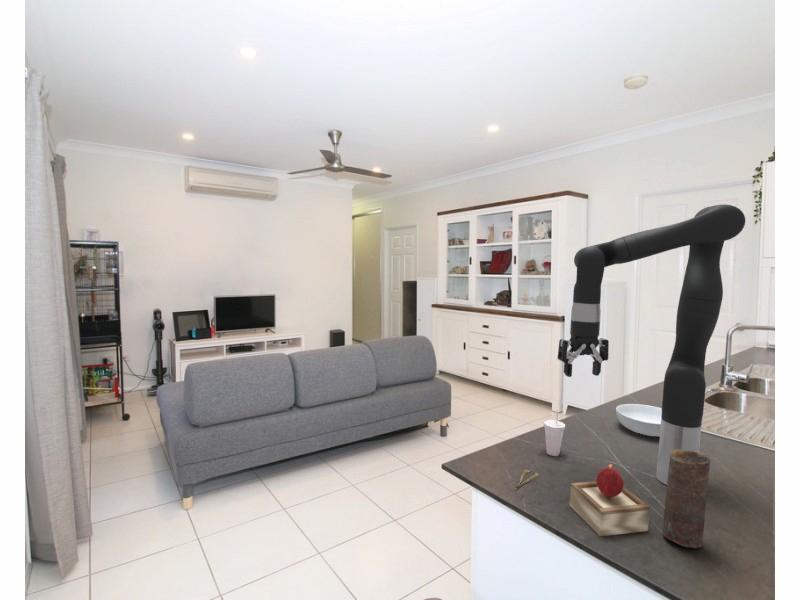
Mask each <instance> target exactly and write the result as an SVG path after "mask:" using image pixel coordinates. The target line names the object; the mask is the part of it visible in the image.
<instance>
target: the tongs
mask: <svg viewBox="0 0 800 600" xmlns="http://www.w3.org/2000/svg"><path fill="white" fill-rule="evenodd" d="M530 472H531V470H528V469H524V472H523V473H522V474H521V477H520V478H519V482H518V484H517V485H516V486H515V487H514V491H515V490H516V491H518V490H519V489H520V488H521V487H522V486H524V485H525V484H528V482H531V481H532V480H534V479H535V478H537V477H538V476H540V473H538V472H535V473H534V475H531V476H529V478H528V479H526V480H525V481H523V479H524V477H525V476H526V474H527V473H530ZM522 481H523V482H522ZM520 483H521V484H520ZM517 489H518V490H517Z"/></svg>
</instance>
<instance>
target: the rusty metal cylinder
mask: <svg viewBox="0 0 800 600" xmlns="http://www.w3.org/2000/svg"><path fill="white" fill-rule="evenodd" d="M710 466H711V459H710V456H709V457H708V455H707V454H705V453H698V452H694V451H684V450H680V449H676V450H673V451H672V452H671V454H670V461H669V471H668V481H667V485H666V492H665V493H666V494H665V503H664V512H663V520H662V522H663V523H662V533H663V535H664V536H663V537H665V538H666V539H668V540H669V541H672V542H674V543H676V544H677V545H680V546H682V547H684V548H685V547H686V548H693V549H697V548H701V547H702V546H703V540H704V531H705V530H704V529H705V520H706V519H705V518H706V507H707V496H708V487H709V477H710V476H709V475H710Z"/></svg>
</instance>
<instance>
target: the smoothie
mask: <svg viewBox="0 0 800 600" xmlns="http://www.w3.org/2000/svg"><path fill="white" fill-rule="evenodd" d="M558 419H559V410H556V411H555V420H554V419H549V420H548V419H547V420H545V421H544V422H543V427H544V433H545V434H544V435H545V448H546V454H547V455H549V456H552V457H558V456H560V452H561V447H562V441H563V435H564V430H565V429H566V424H565V423H564V422H562V421H559V420H558Z"/></svg>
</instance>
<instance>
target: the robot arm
mask: <svg viewBox="0 0 800 600" xmlns="http://www.w3.org/2000/svg"><path fill="white" fill-rule="evenodd" d="M745 225H746V216H745V214H744V212H743V211H742V210H741V209H740V208H738V207H737V206H733V204H726V203H725V204H715V205H711V206H706V207H704V208H702V209H700V210H699V211H698V212H697V213H695V215H694V217H691V218H690V219H686V220H683V221H680V222H677V223H673V224H670V225H666V226H659V227H654V228H651V229H646V230H642V231H638V232H635V233H631V234H628V235H623V236H621V237H618V238H615V239H613V240H610V241H607V242H606V241H605V242H602V243H599V244H598V243H597V244H594V245H590V246H589V245H588V246H585V247H583V248H581V249H579V250H578V251H577V252H576V254H575V255H574V258H573V262H574V266H575V267H576V277H575V278H576V280H575V283H574V286H573V294H572V295H573V296H572V297H573V298H572V300H573V301H572V306H571V309H570V310H571V314H570V330H569V331H570V332H569V333H570V338H569V339H562V338H561V339H559V342H558V352H557V360H558V361H560V362H563V373H564V375H565V377H568V378H572V375H573V364H572V363H573V362H574V361H575V359H577V358H578V357H579V356H590V357H591V358H592V360H593V361H592V369H591V371H592V372H591V373H592V375H593V376H596V377H599V376H600V374H601V372H602V363H603V362H605V361H609V347H610V346H609V344H610V343H609V339H605V338H601V337H600V338H598V337H599V336H600V330H601V329H600V328H601V311H602V309H601V296H602V283H603V279H604V273H605V268H608V267H610V266H614V265H621V264H626V263H631V262H633V261H638V260H641V259H645V258H648V257H652V256H655V255H658V254H661V253H665V252H668V251H671V250H676V249H680V248H683V247H687V246H689V252H688V257H687V263H686V264H687V265H686V267H685V271H684V272H685V273H684V277H683V281H682V286H681V291H680V294H679V295H680V296H679V300H678V306H677V311H676V318H675V319H676V323H675V343H674V346H673V350H672V353H671V357H670V361H669V363H668V365H667V368H666V370H665V374H664V379H663V386H662V387H663V390H662V402H661V408H662V415H661V427H660V437H659V440H658V441H659V442H658V452H657V453H658V454H657V464H656V465H657V466H656V479H657V481H659V482H660V483H662V484H664V485H666V486H667V481H668V471H669V461H670V454H671V452H672V451H673V450H676V449H680V450H684V451H694V452H698V453H702V451H701V450H700V444H701V431H702V424H703V423H702V422H703V416H704V410H705V409H704V407H705V398H706V385H707V382H706V378H705V363H706V357H707V356H706V354H707V349H708V345H709V342H710V340H711V338H712V336H713V334H714V331H715V329H716V326H717V323H718V319H719V315H720V311H721V308H722V307H721V306H722V301H723V295H724V288H723V287H724V286H723V278H722V273H721V256H722V251H723V247H724V245H725V244H724V243H725V241H729V240H731V239H733V238H735V237H737V236H738V235H739V234H740V233H741V232H742V231H743V229H744V227H745ZM597 347H598V349H599V350H597ZM702 454H703V453H702Z"/></svg>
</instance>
